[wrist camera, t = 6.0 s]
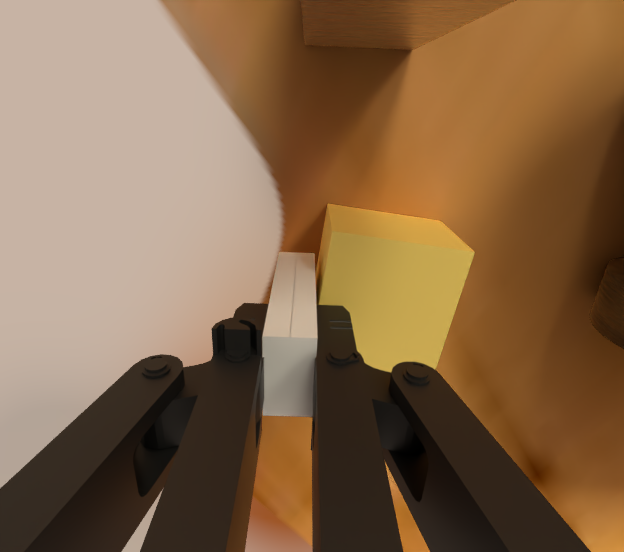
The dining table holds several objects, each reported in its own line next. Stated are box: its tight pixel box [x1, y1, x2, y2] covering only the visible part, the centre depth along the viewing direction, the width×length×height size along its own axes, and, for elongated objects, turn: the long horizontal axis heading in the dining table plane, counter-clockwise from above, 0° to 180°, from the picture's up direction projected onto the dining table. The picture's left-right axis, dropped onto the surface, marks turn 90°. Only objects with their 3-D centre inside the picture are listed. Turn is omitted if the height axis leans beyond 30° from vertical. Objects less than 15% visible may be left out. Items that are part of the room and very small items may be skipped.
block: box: [315, 204, 475, 372], centre depth 17 cm, size 6×5×4 cm
